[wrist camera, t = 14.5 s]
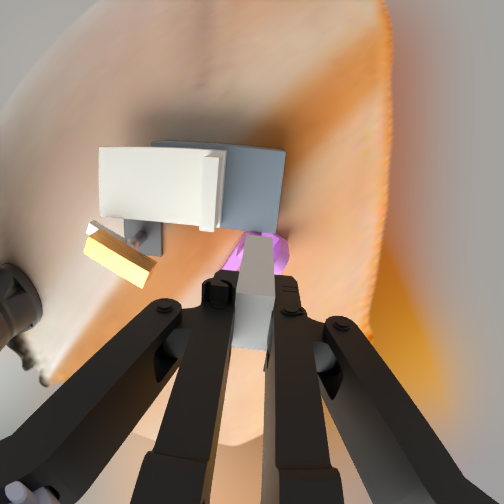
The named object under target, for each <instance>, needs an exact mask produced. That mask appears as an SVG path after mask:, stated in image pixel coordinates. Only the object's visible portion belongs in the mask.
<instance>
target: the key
mask: <svg viewBox="0 0 504 504" xmlns="http://www.w3.org/2000/svg"><path fill="white" fill-rule="evenodd" d="M86 233H87V234H88V235H90V236H88V239H87V243H86V246H85V250H84V254H86V255H87V256H89V257H91V258H92V259H94V260H95V261H97V262H99V263H100V264H102V265H103V266H105V267H107V268H108V269H110V270H112V271H113V272H115V273H117V274H118V275H120V276H122V277H123V278H125V279H127V280H128V281H130V282H132V283H133V284H135V285H137V286H139V287H140V288H143V287H144V285H145V284H146V282H147V281H148V280H149V278H150V277H151V274H152V272H153V270H154V268H155V266H156V263H157V262H156V261H154V260H153V259H151V258H149V257H147V256H146V255H144V254H142V253H141V252H139V251H137V249H138V248H139V247H140V246H141V245H142V244H143V243H144V242H145V241H146V240H147V234H146V232H144V231H138V232H137V233H136V234H135V235H134V236H133V237H132V238H130V239H129V240H127V239H125V238H123V237H121V236H120V235H118V234H116V233H115V232H113V231H111V230H110V229H108V228H106V227H105V226H103V225H101V224H100V223H98V222H96V221H95V220H94V221H92V222H90V223H89V225H88V229H87V232H86Z"/></svg>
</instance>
